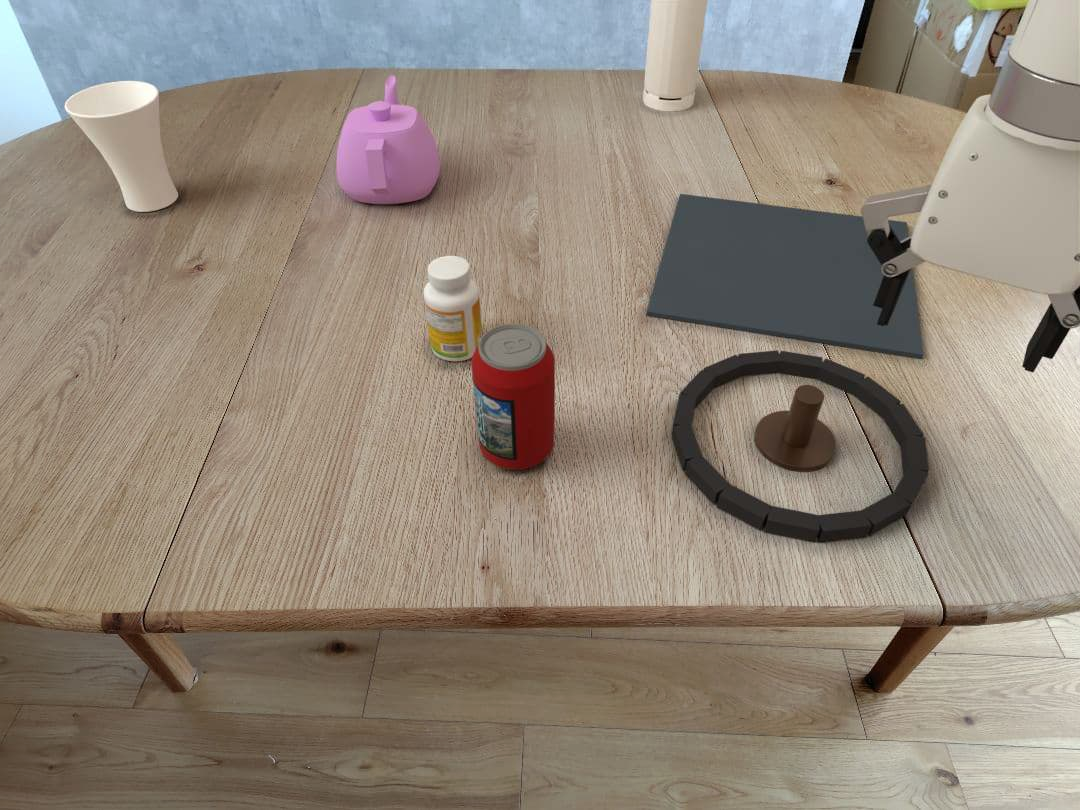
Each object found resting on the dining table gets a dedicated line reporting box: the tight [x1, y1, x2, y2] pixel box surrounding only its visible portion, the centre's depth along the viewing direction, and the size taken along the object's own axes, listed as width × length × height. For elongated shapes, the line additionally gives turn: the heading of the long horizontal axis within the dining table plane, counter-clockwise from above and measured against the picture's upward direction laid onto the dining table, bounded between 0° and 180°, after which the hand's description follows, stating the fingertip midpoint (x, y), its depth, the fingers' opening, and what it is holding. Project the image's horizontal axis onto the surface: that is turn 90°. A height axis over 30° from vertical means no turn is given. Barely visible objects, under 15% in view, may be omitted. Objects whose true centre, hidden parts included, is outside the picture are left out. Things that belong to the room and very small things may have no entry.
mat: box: [645, 193, 925, 360], centre depth 89 cm, size 28×26×1 cm
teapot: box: [336, 75, 441, 205], centre depth 100 cm, size 13×20×11 cm
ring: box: [671, 349, 930, 543], centre depth 69 cm, size 22×22×2 cm
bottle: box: [642, 0, 708, 112], centre depth 113 cm, size 8×8×28 cm
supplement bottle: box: [423, 255, 484, 362], centre depth 76 cm, size 5×5×10 cm
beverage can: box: [471, 323, 556, 470], centre depth 65 cm, size 7×7×12 cm
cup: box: [64, 80, 179, 213], centre depth 96 cm, size 10×10×14 cm
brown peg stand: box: [754, 384, 837, 473], centre depth 67 cm, size 7×7×6 cm
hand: (955, 337), depth 54 cm, fingers open, 9 cm apart
